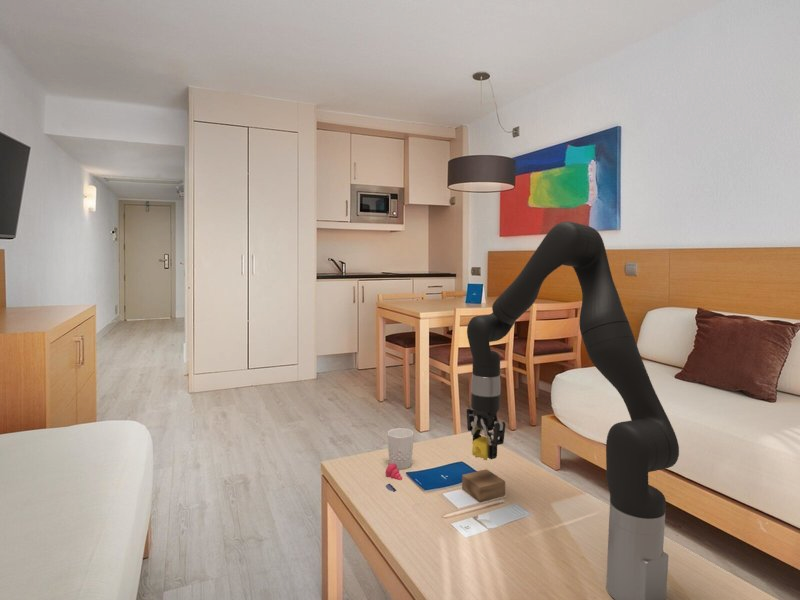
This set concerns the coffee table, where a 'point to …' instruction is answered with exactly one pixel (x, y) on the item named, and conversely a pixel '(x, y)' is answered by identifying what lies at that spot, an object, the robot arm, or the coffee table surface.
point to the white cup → (400, 447)
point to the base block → (483, 485)
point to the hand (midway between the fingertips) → (484, 453)
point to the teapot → (480, 447)
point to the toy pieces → (392, 475)
